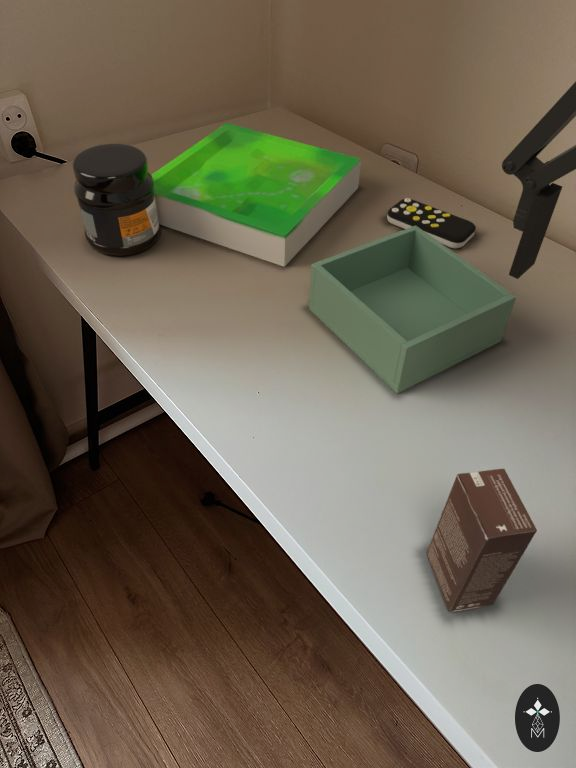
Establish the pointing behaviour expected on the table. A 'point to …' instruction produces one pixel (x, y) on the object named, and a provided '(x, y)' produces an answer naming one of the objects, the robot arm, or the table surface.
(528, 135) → the robot arm
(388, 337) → the bin
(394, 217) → the remote control
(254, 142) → the green flat square slab
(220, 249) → the table surface
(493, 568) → the box
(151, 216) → the supplement container
